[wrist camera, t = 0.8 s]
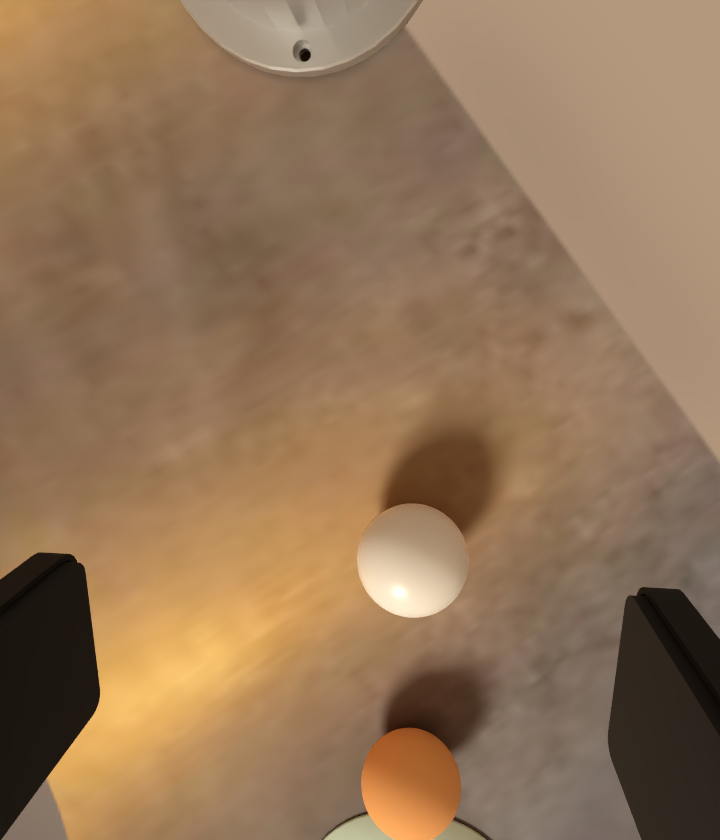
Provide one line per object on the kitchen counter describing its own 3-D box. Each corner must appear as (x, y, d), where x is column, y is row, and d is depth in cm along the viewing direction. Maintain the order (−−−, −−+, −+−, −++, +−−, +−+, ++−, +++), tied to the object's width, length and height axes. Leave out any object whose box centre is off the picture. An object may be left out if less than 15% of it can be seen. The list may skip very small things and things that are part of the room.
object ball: (365, 703, 36) (355, 781, 31) (459, 708, 35) (465, 789, 30) (366, 778, 37) (357, 865, 32) (457, 785, 37) (462, 874, 32)
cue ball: (362, 485, 32) (349, 530, 27) (466, 488, 32) (475, 534, 26) (363, 578, 34) (352, 638, 28) (463, 582, 33) (471, 644, 28)
